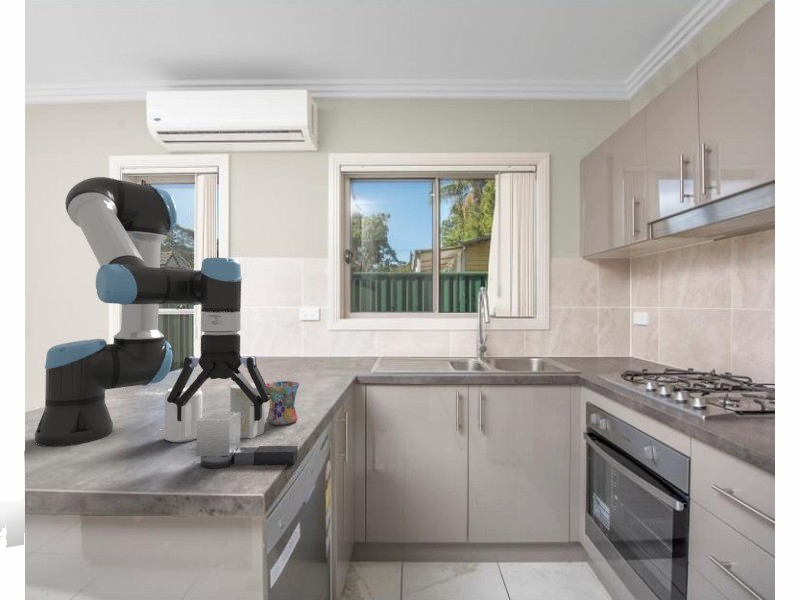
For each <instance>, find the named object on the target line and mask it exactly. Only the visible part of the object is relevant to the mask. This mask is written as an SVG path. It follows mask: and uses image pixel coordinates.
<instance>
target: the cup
mask: <svg viewBox="0 0 800 600" xmlns="http://www.w3.org/2000/svg"><path fill="white" fill-rule="evenodd" d="M249 383H250V384H251V386H252V387H253V388H254V389H255V390H256V391H257V393H258V394H259V392H258V390H257V388H256V386H255V384H254V382H249ZM229 390H230V391H229V392H230V395H229V396H230V399H229V404H230V409H229V412H241V426H240V439H245V438H249V432H250V406H251V405H252V404H253V403H252V401H251V400H250V399H249V398H248V397H247V395H246V394H245V393H244V392H243V391H242V390H241V388H240V387H239V386H238V385H237V384H236V383H235V384H232V385H230V388H229ZM259 395H260V394H259ZM264 433H265V403H263V404H262V418H261V419H260V420H259V421H257V435H256V436H255V437H258V436H261V435H262V434H264Z"/></svg>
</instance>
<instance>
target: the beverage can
mask: <svg viewBox="0 0 800 600" xmlns="http://www.w3.org/2000/svg"><path fill="white" fill-rule="evenodd" d="M189 387H190V385H185V387H184V389H183V391H182V393H181V395H180V397H181V396H182V395H183V394H184V392H185V391H186V390H187V389H188V388H189ZM172 389H173V387H170V388H168V389H167V392H166V393H165V396H164V440H166V441H169V442H170V443H171V442H172V443H185V442H191V441H193V440H194V441H195V440H197V420H199V419H200V418H202V417H203V391H202V390H201V387H200V388H199V389H198V390H197V391H196V392H195V394H194V395H193V396H192V397H191V398H190V399H189V402H187V404H188V403H191V435H190V436H189V437H187V438H186V439H181V421H178V420H177V405H176V404H174V403H169V402H168V401H167V398H168V397H169V395H170V393H171V391H172Z"/></svg>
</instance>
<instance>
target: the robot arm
mask: <svg viewBox="0 0 800 600" xmlns="http://www.w3.org/2000/svg"><path fill="white" fill-rule="evenodd" d="M65 210H66V213H67V215H68V217H69V219H70V220H71V222H72V223H74V224H75V225H76V226H77V227H79V228H80V229H81V231H82V233H83V235H84V237H85V239H86V241H87V243H88V245H89V246H90V249H91V250H92V253H93V254H94V256H95V258H96V260H97V262H98V265H99V268H98V271H97V273H96V276H95V289H96V296H97V297H98V300H100V301H101V302H102V303H105V304H115V305H116V304H118V305H121V313H120V314H121V315H120V316H121V318H120V322H121V323H120V330H119V331H118V332H117V333H116V334H114V335H113V343H107V340H106V339H104V338H94V339H84V340H77V341H69V342H64V343H60V344H57V345H54V346H51V347H50V348H49V349H48V350H47V353H46V356H45V357H46V359H45V365H44V369H45V391H44V392H45V400H44V402H45V403H44V404H45V405H44V410H43V413H42V415H41V418H40V421H39V423H38V425H37V428H36V430H35V432H34V444H36V443H37V444H36V445H38V444H39V445H38V446H43V445H45V446H46V447H57V446H59V447H60V446H68V445H76V444H81V443H86V442H91V441H95V440H99V439H102V438H104V437H107V436H109V435H110V434H112V433H113V431H114V422H113V420H112V418H111V414H110V412H109V409H108V406H107V404H106V391H107V390H113V389H120V388H128V387H136V386H148V385H150V384H151V385H152V384H156V383H160V382H162V381H163V380H164V379H165V378H166V377H167V375H168V374H169V373H170V370H171V367H172V362H173V350H172V346H171V344H170V342H169V341H166V339H165V335H164V334H163V333H162V332H161V331H160V330H159V312H160V311H159V307H160V306H159V305H187V306H198V305H199V306H201V308H200V313H201V315H200V316H201V318H200V320H201V321H200V331H201V332H202V333H203V334H202V335H201V336H200V356H199V357H196V356H194V355H191V356H188V357H185V358H184V360H183V367H182V370H181V372H180V373H179V376H178V377H177V380H176V381H175V383H174V385H173V386H172V388H173V389H172V391H171V393H170V395H169V397H168V398H167V401H168V402H169V403H174V404H176V405H177V420H178V421H181V439H186V438H187V437H189V436H190V435H191V403H188V404H187V402H189V399H190V398H191V397H192V396H193V395H194V394H195V392H196V391H197V390H198V389H199V388H200V389H201V387H202V385H204V383H205V382H206V381H207V380H208V379H210V380H216V379H220V380H227V379H230V380H231V381H232V382H234V383H235V384H237V385H238V386H239V387H240V388H241V390H242V391H243V392H244V393H245V394H246V395H247V397H248V398H249V399H250V400H251V401H252V403H253V404H252V405H251V406H250V432H249V437H248V438H249V439H254V438H255V437H257V436H256V435H257V421H259V420H260V419H261V418H262V404H263V403H264V404H265V403H268V401H269V400H270V399H271V397H272V396H271V394H270V392H269V390H268V388H267V386H266V384H267V383H266V382H265V381H264V378H263V376H262V374H261V372H260V370H259V368H258V366H257V357H256V356H255V355H252V356H248V357H242V355H241V335H240V334H239V333H238V332H240V331H241V317H242V316H241V314H242V313H241V309H242V307H241V305H242V304H241V303H242V300H241V299H242V280H243V279H242V272H241V263H240V261H239V260H238V259H235V258H229V257H205V258H204V259H203V260H202V262H201V268H200V270H197V269H196V270H195V269H194V270H193V269H182V268H181V269H179V268H164V267H161V252H162V251H161V248H162V246H161V245H162V242H164V241H165V240H166V239H167V238H168V233H172V232H173V231H174V229H175V227H176V224H177V221H178V212H177V211H178V210H177V205H176V202H175V200H174V197H172V195H171V193H169V191H167V190H165V189H162V188H157V187H154V186H152V185H145V184H141V183H137V182H136V183H135V182H131V181H124V180H120V179H115V178H113V177H106V176H105V177H104V176H95V177H89V178H87V179H84V180H82V181H80V182H78V183H76V184H75V185H74V186H72V187H71V189H69V191H68V193H67V195H66V197H65ZM242 364H243V366H244V368H246V369H247V372H248V374H249V375H250V378H251V380H252V383H254V384H255V386H256V388H257V390H258V392H259V394H260V395H259V394H258V393H257V391H256V390H255V389H254V388H253V387H252V386H251V384H250V383H251V382H249V380H248V379H246V377H245V376H244V374H243V373H242V371H241V370H240V369H239V368H240V367H241V366H242ZM198 365H199V366H200V368H201V369H202V371H201V372H200V373H199V374H198V375H197V378H195V380H193V382H192V383H191V384H190V385H189V386H190V387H189V388H188V389H187V390H186V391H185V392H184V394H183V395H182V396H181V397H180V395H181V393H182V391H183V389H184V387H185V386H187V383H188V382H189V379H190V377H191V376H192V374H193V371H194V369H195V368H196V367H197V366H198ZM269 402H270V401H269Z"/></svg>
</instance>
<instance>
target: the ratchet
mask: <svg viewBox="0 0 800 600" xmlns="http://www.w3.org/2000/svg"><path fill="white" fill-rule="evenodd" d="M298 453H299V446H298V445H259V446H258V447H257V446H256V447H254V446H251V447H250V446H249V447H248V446H246V447H240V446H239V447H238V448H237V449H236V450H235V451H234V452H233V453H232V454H231V455H230V456H200V467H201V468H203V469H206V470H221V469H225V468H229V467H232V466H235V467H236V466H239V467H241V466H244V467H245V466H246V467H247V466H254V467H257V466H260V467H261V466H262V467H263V466H266V467H267V466H269V467H270V466H273V467H274V466H295V464H296V463H297V461H298V459H299V458H298V457H299V455H298Z"/></svg>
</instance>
